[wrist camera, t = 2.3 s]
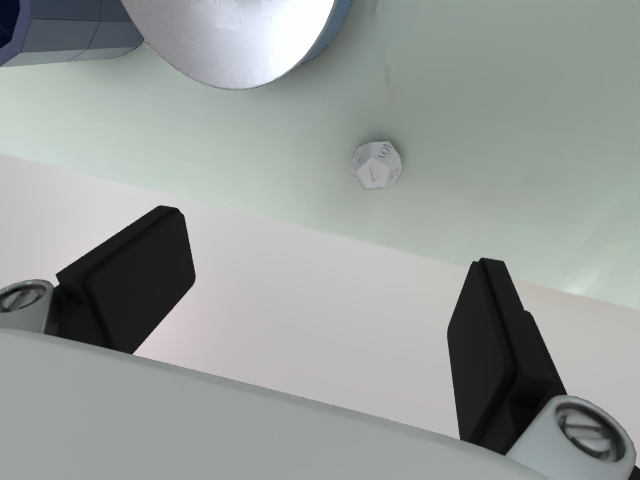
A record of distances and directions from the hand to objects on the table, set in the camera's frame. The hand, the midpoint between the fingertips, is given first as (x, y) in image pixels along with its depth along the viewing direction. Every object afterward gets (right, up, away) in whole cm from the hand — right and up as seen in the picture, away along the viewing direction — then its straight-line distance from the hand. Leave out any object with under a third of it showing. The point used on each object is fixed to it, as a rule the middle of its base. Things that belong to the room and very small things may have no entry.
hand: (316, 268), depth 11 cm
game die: (+5, +7, +14) cm, 16 cm away
